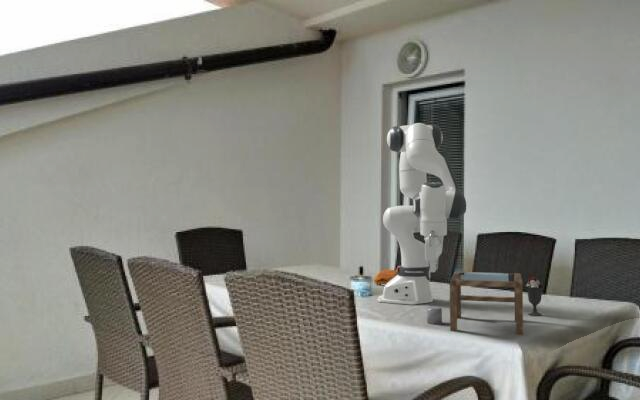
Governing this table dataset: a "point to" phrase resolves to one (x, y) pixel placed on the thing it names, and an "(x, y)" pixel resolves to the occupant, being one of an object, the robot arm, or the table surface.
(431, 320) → the gray cylinder
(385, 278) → the croissant
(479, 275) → the trapdoor
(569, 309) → the table surface
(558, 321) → the table surface
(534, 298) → the sundae
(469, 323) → the table surface
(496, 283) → the stand
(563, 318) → the table surface
